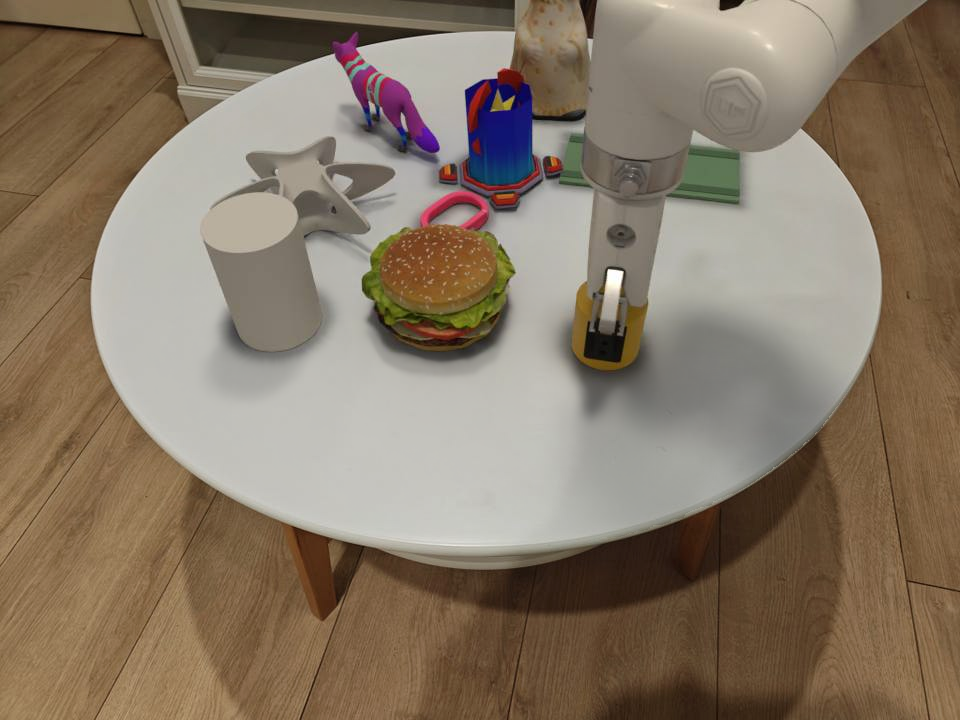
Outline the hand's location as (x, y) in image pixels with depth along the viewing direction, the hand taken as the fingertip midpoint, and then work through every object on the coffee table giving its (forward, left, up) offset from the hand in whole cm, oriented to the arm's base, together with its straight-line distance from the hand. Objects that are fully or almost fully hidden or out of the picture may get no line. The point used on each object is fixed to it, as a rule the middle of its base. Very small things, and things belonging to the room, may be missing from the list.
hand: (608, 318), depth 68 cm
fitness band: (+18, -15, -4) cm, 24 cm away
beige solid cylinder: (+31, +3, -4) cm, 31 cm away
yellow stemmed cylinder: (0, 0, -3) cm, 3 cm away
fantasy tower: (+15, -25, -3) cm, 29 cm away
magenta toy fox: (+30, -30, -4) cm, 43 cm away
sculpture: (+34, -13, -4) cm, 37 cm away
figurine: (+12, -42, -4) cm, 44 cm away
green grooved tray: (-2, -29, -3) cm, 29 cm away
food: (+16, -2, -4) cm, 16 cm away
